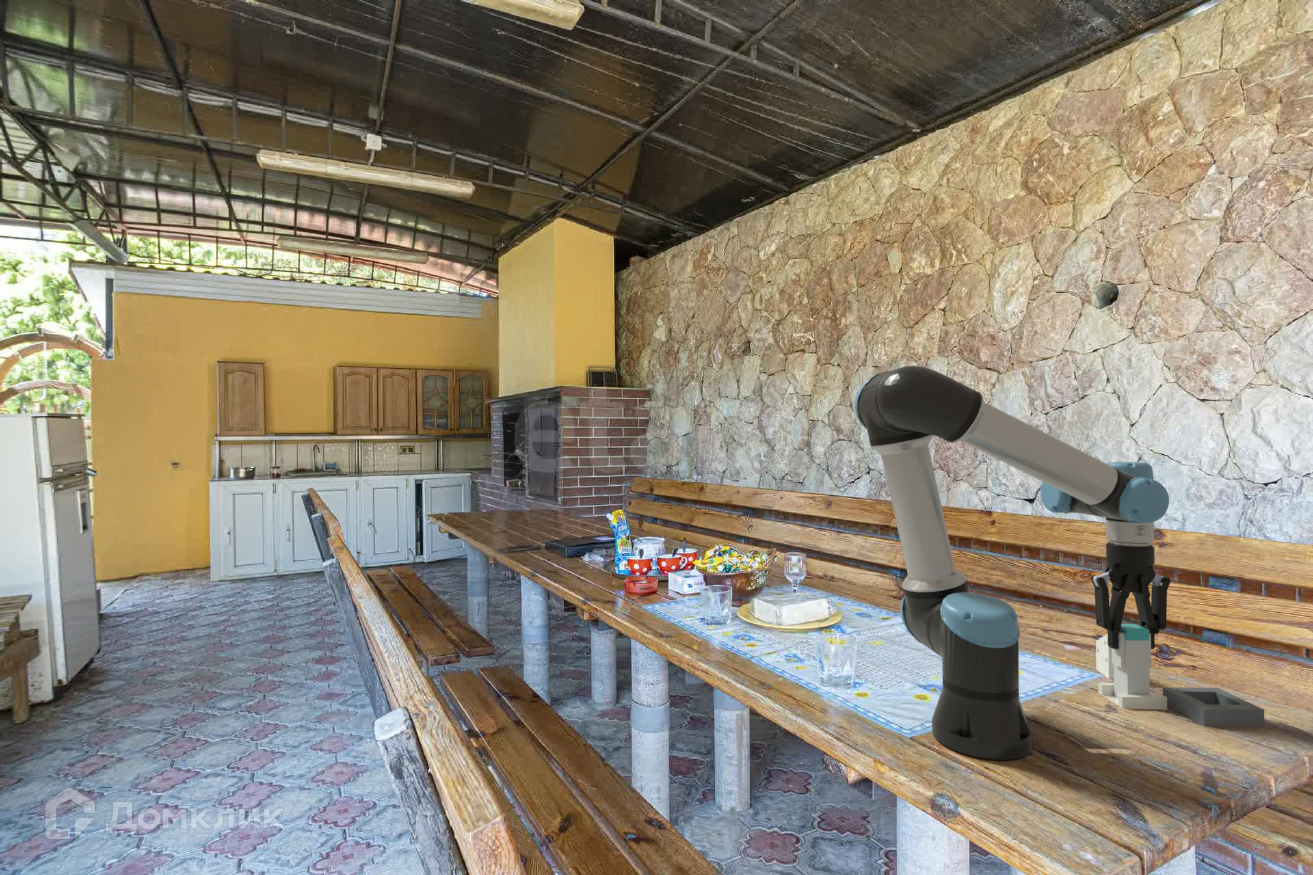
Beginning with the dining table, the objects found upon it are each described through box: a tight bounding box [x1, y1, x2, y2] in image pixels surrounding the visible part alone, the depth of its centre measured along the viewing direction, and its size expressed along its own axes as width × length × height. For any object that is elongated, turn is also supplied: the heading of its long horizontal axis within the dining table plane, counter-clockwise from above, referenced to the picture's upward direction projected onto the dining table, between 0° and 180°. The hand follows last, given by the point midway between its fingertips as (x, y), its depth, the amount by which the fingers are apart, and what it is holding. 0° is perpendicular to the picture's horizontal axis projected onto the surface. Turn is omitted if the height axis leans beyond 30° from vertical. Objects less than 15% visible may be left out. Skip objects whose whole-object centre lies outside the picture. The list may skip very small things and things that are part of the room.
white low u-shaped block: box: [1096, 682, 1169, 710], centre depth 126 cm, size 8×8×3 cm
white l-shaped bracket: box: [1095, 633, 1114, 680], centre depth 139 cm, size 4×10×9 cm
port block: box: [1162, 686, 1265, 728], centre depth 119 cm, size 10×10×4 cm
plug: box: [1113, 623, 1151, 698], centre depth 126 cm, size 4×4×14 cm
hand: (1131, 665), depth 126 cm, fingers closed on plug, 4 cm apart
